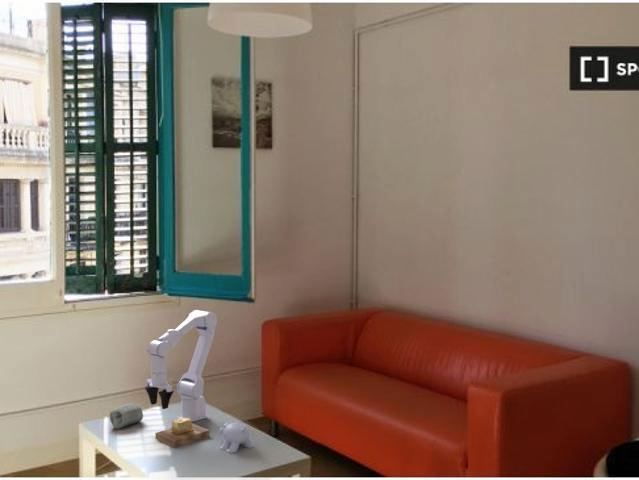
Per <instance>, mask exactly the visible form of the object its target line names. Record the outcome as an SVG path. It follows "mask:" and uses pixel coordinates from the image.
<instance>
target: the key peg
mask: <svg viewBox="0 0 639 480" xmlns="http://www.w3.org/2000/svg"><path fill="white" fill-rule="evenodd" d="M192 423H193V422H192V419H190V418H187V417H184V418H180V419H177V418H176V419H174V420H171V428H172V433H173V434H175V435H178V436H179V435H183V434H186V433H189V432H192Z"/></svg>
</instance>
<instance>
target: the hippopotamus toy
mask: <svg viewBox="0 0 639 480" xmlns="http://www.w3.org/2000/svg"><path fill="white" fill-rule="evenodd" d="M248 427H249V425H245V424H242V423H239V422H234V421H233V422H231V423H230V422H225V423H224V424H223V425H221V426H220V428H219V433H220V434H222V435H223V438H224V441H223V444H222V446H219V448H220V449H221V450H223V449H227V450H225V451H226V452H228V453H229V452H230V453H229V454H232V453H233V452H234V453H237V451H238V449H239V447H240V444H244V445H242V446H243V447H244V446H245V447H244V448H246V447H251V446H253V445H254V443H253V442H252V440H251V438H250V435H251V433H250V431H249V429H248ZM253 447H254V446H253ZM251 448H252V447H251ZM234 453H233V454H234Z"/></svg>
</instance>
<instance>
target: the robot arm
mask: <svg viewBox="0 0 639 480" xmlns="http://www.w3.org/2000/svg"><path fill="white" fill-rule="evenodd" d="M217 324H218V317H217V315H216V313H215V312H213V311H206V310H205V311H204V310H199V309H195V310H193V311H191V312H189V313H188V317H187V318H186V319H185V320H184V321H182V323H181V324H180V325H179V326H177V327H176V328H175V329H174V328H171V329H168V330H166V332H165V333H164V334H163V335H161V336H160V337H158V339H157V340H156V339H155V340H152V341H151V342H149V345H148V347H147V348H146V349H147V353H148V354H149V359H150V374H151V376H150V377H151V378H148V379H146V381H145V382H146V384H145V385H147V386H145V387H144V390H145V391H146V394H147V395H148V399H149V401H150V405H156V404H157V403H158V394H159V397H160V401H161V402H160V404H161V408H162V409H163V410H166V409H169V405H170V402H171V401H170V400H171V398H172V395H173V394H174V392H175V391H174V390H173V386H172V385H170V384H169V383H168V382H167V378H168V377H167V356H168V355H169V352H170V350H172V348H174V346H175V345H177V344H178V343H180V341H181V337H182V336H184V335H185V334H186V333H188V332H189V331H191V330H192V329H193V328H195V329H196V331H198V334H199V337H198V341H197V343H196V346H195V349H194V353H193V354H192V355H193V356H192V359H191V361H190V364H189V368H188V371H187V372H185V373H184V374H183V375H182V376H181V378H180V380H179V382H178V383H177V385H176V391H177V393H178V394H179V397H180V400H181V401H180V404H181V405H180V406H181V408H180V409H181V410H180V413H181V416H180V415H179V416H177V418H176V420H177V419H180V418H184V417H187V418H190V419H192V423H193V422H197V421H200V420H203V419H206V418H208V416H207V414H206V413H207V412H206V411H207V410H206V408H207V407H206V406H207V404H206V399H205V397H204V395H203V393H204V386H205V385H204V384H205V380H204V378H203V377H202V373H203V372H204V371H203V370H204V367H205V365H206V362H207V359H208V356H209V352H210V349H211V346H212V342H213V339H214V336H215V332H216V327H217ZM159 389H161V390H160V391H159Z"/></svg>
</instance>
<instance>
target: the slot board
mask: <svg viewBox="0 0 639 480" xmlns="http://www.w3.org/2000/svg"><path fill="white" fill-rule="evenodd" d="M210 431H211V430H210V429H207V428H205V427H202V426H199V425H198V424H195V423H193V422H192V432H189V433H186V434H183V435H179V436H178V435H175V434H173V433H172V427H171V428H167V429H164V430H161V431H157V432H154V433H155V437H154V438H155V440H156V439H157V440H156V441H158V440H159V441H158V442H161V443H162V444H165V445H168V446H169V447H172V448H174V449H175V448H178V447H181V446H184V445H187V444H190V443H194V442H197V441H200V440H203V439H207V438H210Z"/></svg>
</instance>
